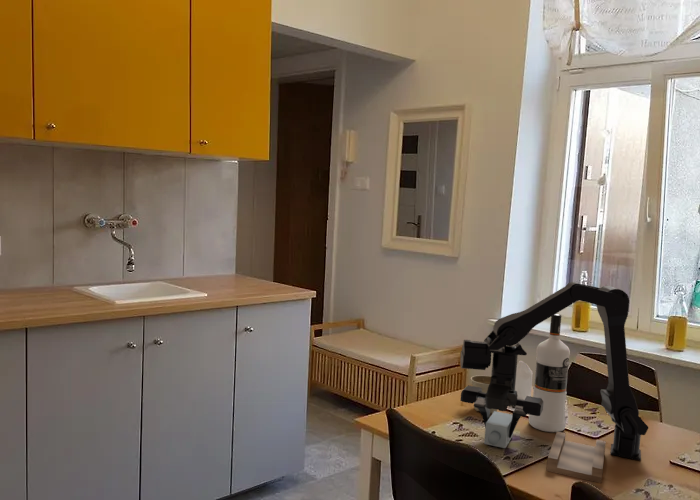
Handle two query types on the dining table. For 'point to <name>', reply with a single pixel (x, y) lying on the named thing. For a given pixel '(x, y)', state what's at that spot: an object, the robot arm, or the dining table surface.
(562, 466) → the u rest
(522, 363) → the white pointed cylinder
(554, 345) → the vodka
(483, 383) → the flower pot
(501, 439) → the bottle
